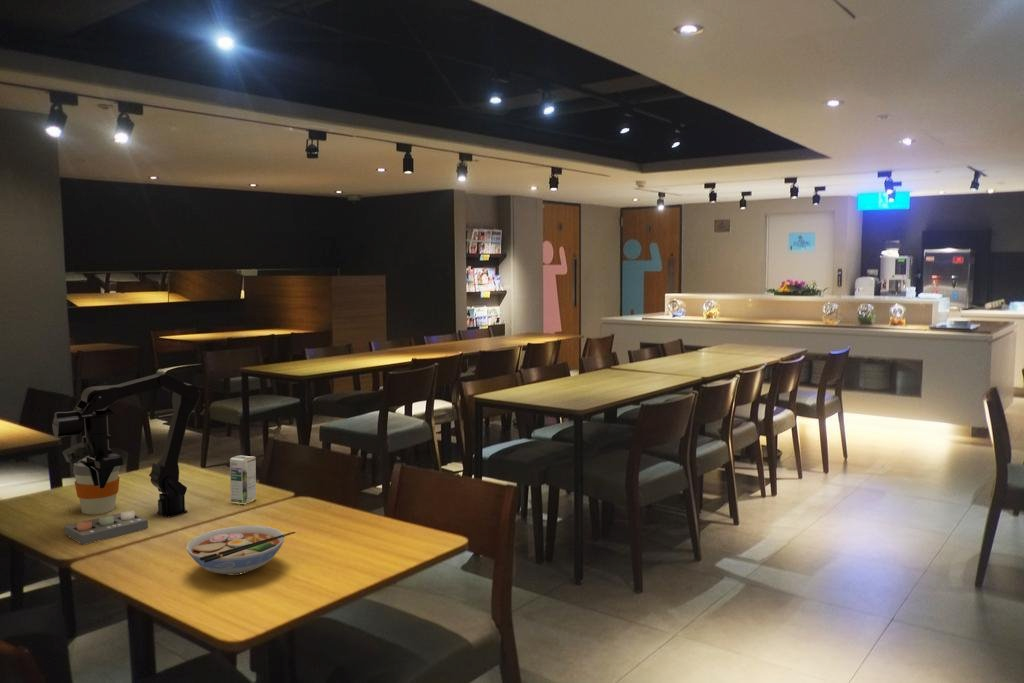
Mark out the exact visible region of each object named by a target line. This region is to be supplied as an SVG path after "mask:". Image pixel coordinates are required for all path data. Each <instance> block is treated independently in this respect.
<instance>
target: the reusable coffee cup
mask: <svg viewBox="0 0 1024 683" xmlns="http://www.w3.org/2000/svg"><path fill="white" fill-rule="evenodd" d="M80 461H83V459H81V460H79V461H78V462H77V463H74V464H73V467H72V468H73V471H72V472H73V475H74V478H75V481H74V487H75V490H76V491H75V492H76V496H77V498H79V499H78V500H79V503H80V510H81V513H82V512H83V513H82V514H84V513H86V514H85V515H100V513H102V514H106V513H110V512H111V510H112V511H114V510H115V509H116V503H117V502H116V500H117V494H118V493H119V487H120V486H119V485H120V476H119V472H120V469H121V466H115V467H114V469H113V471H112V472H111V474H110V476H109V478H108V481H107V483H106V485H105V487H104V488H100V487H99V485H98V486H94V484H93V481H92V479H91V476H90V473H89V471H88V468H87V467H86V466H84V465H83V464H81V463H80ZM113 509H114V510H113ZM109 511H110V512H109ZM105 512H106V513H105Z"/></svg>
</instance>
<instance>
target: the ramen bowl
mask: <svg viewBox="0 0 1024 683" xmlns="http://www.w3.org/2000/svg"><path fill="white" fill-rule="evenodd" d="M293 534H296V531H291V532H289V533H284V532H282V531H281V530H279V529H278V528H276V527H275V528H273V527H269V526H264V525H249V524H248V525H237V526H228V527H227V526H226V527H223V528H219V529H218V528H217V529H213V530H210V531H206V532H204V533H202V534H198V535H197V536H195V537H193V538H192V539H191V540H189V541H188V542H187V544H186V547H185V549H186V551H187V553H188V554H189V556H190V557H191V558H192V559H193V561H194V562H196V563H197V564H198V565H199V566H200V567H201V568H202V569H203V570H206V571H208V572H212V573H216V574H223V575H225V574H240V573H244V572H247V571H250V572H251V571H254V570H255V569H258V568H260V567H262V566H263V567H264V565H265V564H267V563H268V562H270V561H271V560H272V559H273V558H274V557H275V555H276V554H277V553H279V550H280V548H282V546H283V543H284V542H285V537H287V536H291V535H293ZM247 573H248V572H247ZM244 574H245V573H244Z"/></svg>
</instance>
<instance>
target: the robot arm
mask: <svg viewBox="0 0 1024 683" xmlns="http://www.w3.org/2000/svg"><path fill="white" fill-rule="evenodd" d="M160 388H162V389H163V390H164V391H165V390H166V391H167V392H169V393H171V394H172V397H171V404H172V416H171V419H170V420H171V421H170V424H169V427H168V432H167V436H166V440H165V444H164V447H163V450H162V455H161V458H160V459H159V461H158V462H157V463H155V462H153V463H152V465H151V471H150V473H149V474H148V476H149V477H150V483H151V484H152V486H154V487H155V488H157V490H158V491H157V492H159V497H158V500H157V512H156V513H157V514H158V515H160V516H163V517H165V518H171V517H174V516H179V515H183V514H187V513H189V512H188V510H187V509H186V504H185V503H186V502H185V501H186V500H185V499H186V497H185V495H186V492H187V490H188V487H187V486H186V485H185V484H183V483H181V482H180V468H179V467H180V466H179V458H180V455H181V452H182V451H181V450H182V447H183V442H184V439H185V438H184V437H185V436H186V430H187V426H188V423H189V419H190V418H189V417H190V415H191V414H192V412H193V411H194V410H195V408H196V407H197V404H198V403H199V400H200V397H201V391H200V389H199V387H197V386H196V385H194V384H190V383H187V382H182V381H180V380H178V379H176V378H174V377H172V376H171V375H169V373H164V372H161V371H160V372H156V373H154V374H151V375H147V376H144V377H140V378H136V379H132V380H129V381H124V382H122V383H118V384H111V385H108V384H107V385H97V386H96V385H95V386H89V387H87V388H85V389H84V390H83V392H82V393H81V396H80V400H79V401H78V403H77V404H76V405H75V406H74V408H73V411H72V410H71V411H69V410H68V411H57V412H54V417H53V422H52V424H51V426H52V427H51V428H52V432H53V436H54V437H55V438H57V439H58V438H64V437H72V436H78V435H81V433H83V432H85V433H84V435H82V437H81V441H80V442H79V443H77V444H74V445H72V446H71V447H68V448H67V449H64V450H63V451H62V452H61V453H62V455H63V457H64V459H65V461H66V463H70V465H74V463H77V462H78V461H79V460H82V459H83V461H80V463H81V464H83V465H84V466H86V467H87V468H88V471H89V473H90V476H91V479H92V481H93V484H94V486H98V485H99V487H100V488H104V487H105V485H106V483H107V481H108V478H109V476H110V474H111V472H112V471H113V469H114V467H115V466H120V467H121V466H123V465H124V458H123V457H122V456H121V455H120V454H117V453H113V450H112V449H111V448H110V442H109V440H112V435H111V434H109V422H108V421H109V419H108V416H110V417H111V416H115V415H116V414H117V412H115V411H114V410H113V409H111V408H110V406H112V405H114V404H115V403H117V402H118V401H121V400H122V399H125V398H129V397H132V396H134V395H138V394H139V395H140V394H142V393H145V392H150V391H152V390H153V391H154V390H157V389H160Z"/></svg>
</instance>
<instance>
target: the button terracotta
mask: <svg viewBox="0 0 1024 683" xmlns="http://www.w3.org/2000/svg"><path fill="white" fill-rule="evenodd" d="M76 523H77V531H78V532H82V531H86V530H90V529H92V521H88V520H81V521H79V522H76Z"/></svg>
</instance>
